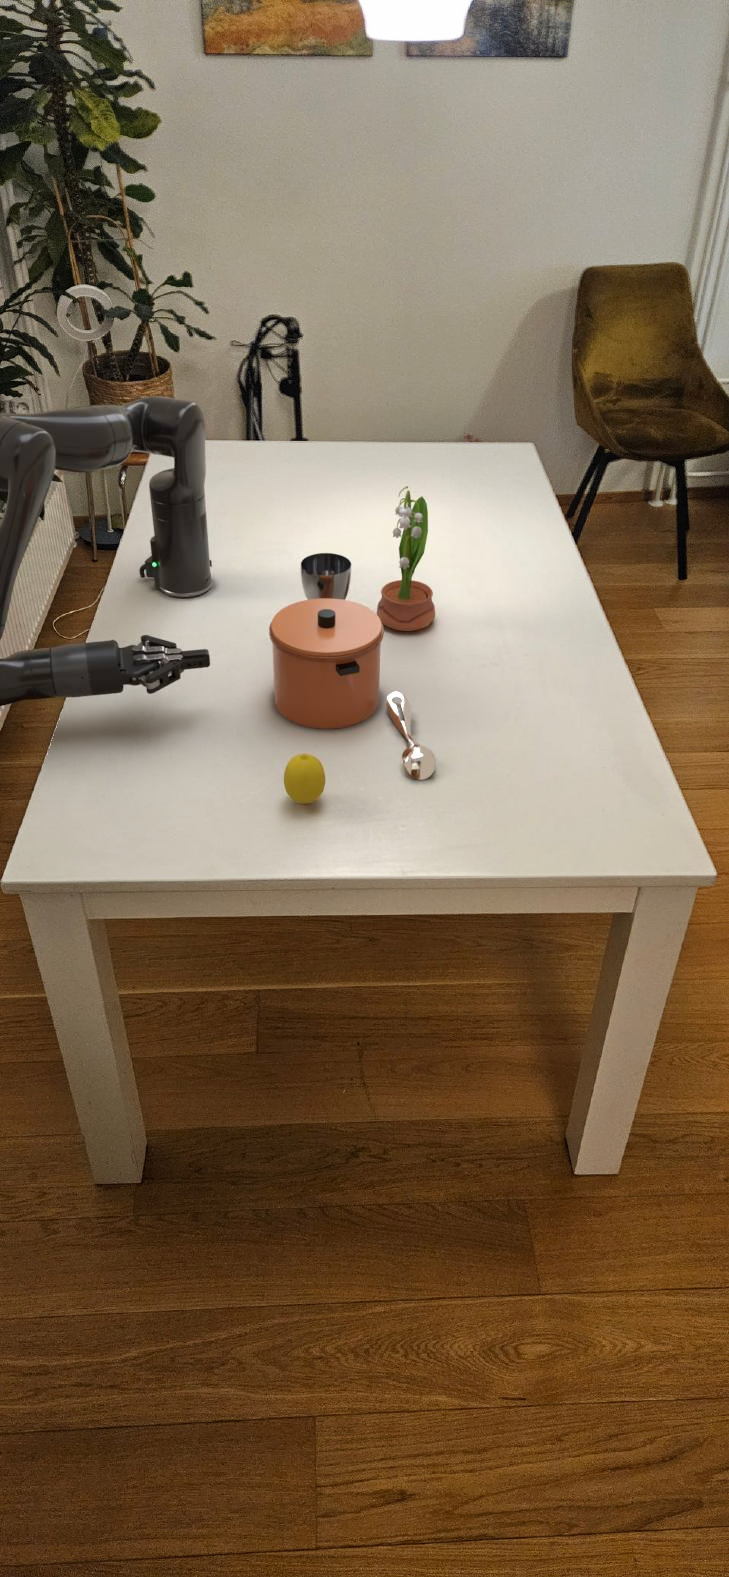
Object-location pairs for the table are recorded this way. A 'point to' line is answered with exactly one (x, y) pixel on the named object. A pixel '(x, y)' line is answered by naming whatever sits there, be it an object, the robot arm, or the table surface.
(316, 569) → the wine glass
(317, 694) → the copper pot
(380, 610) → the potted flower
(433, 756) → the silver elongated piece
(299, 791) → the lemon
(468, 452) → the table surface
